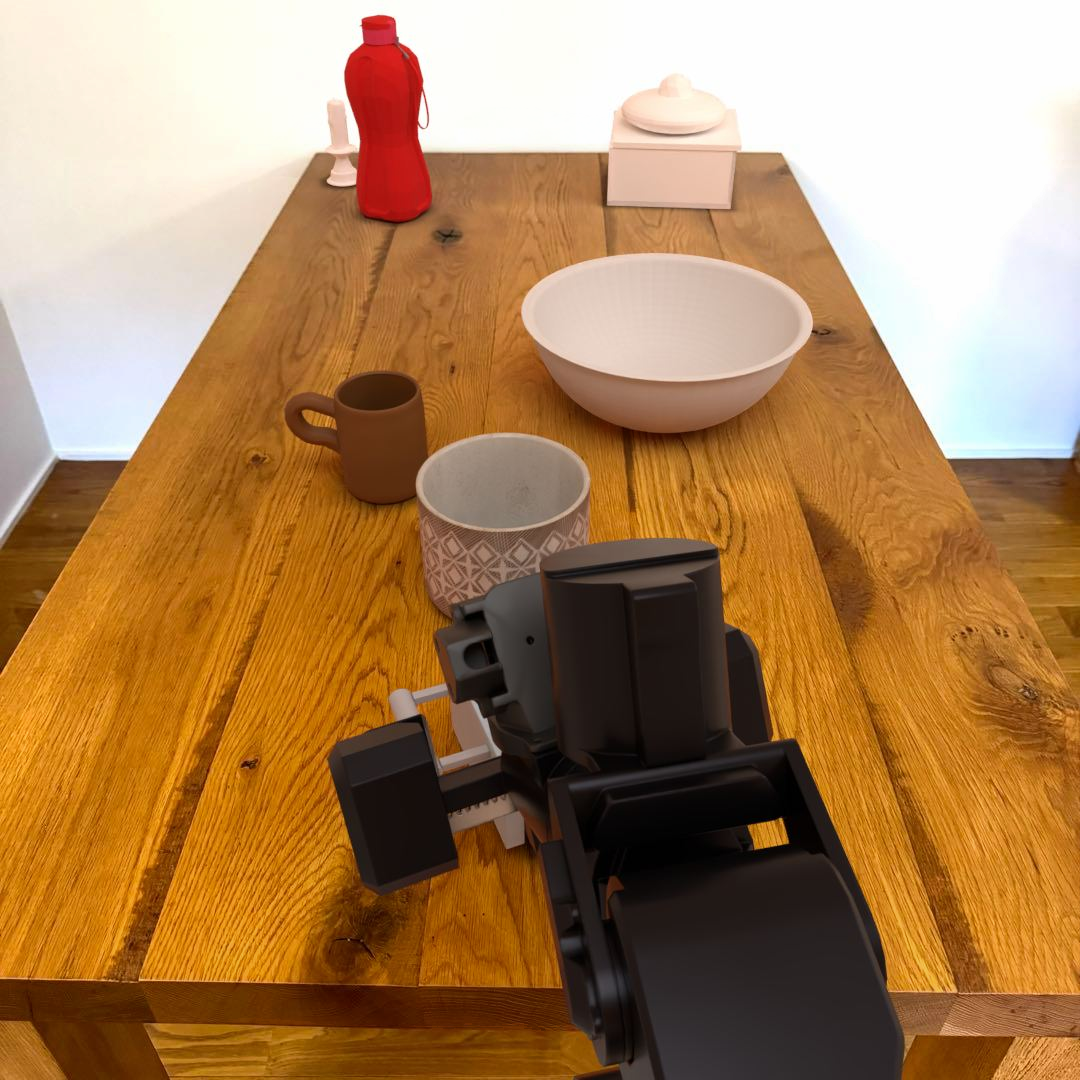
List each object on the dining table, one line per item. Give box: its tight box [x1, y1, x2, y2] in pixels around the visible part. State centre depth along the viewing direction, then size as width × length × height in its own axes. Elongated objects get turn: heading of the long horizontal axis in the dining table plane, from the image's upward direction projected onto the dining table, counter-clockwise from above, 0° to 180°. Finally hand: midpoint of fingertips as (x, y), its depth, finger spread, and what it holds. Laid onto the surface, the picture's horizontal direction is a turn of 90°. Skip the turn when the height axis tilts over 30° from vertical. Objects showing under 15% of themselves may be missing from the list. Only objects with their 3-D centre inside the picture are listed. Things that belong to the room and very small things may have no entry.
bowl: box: [520, 252, 814, 434], centre depth 101 cm, size 27×27×10 cm
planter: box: [416, 432, 591, 620], centre depth 79 cm, size 13×13×10 cm
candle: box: [324, 97, 358, 188], centre depth 153 cm, size 5×5×12 cm
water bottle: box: [343, 14, 433, 223], centre depth 138 cm, size 9×11×25 cm
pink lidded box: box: [606, 73, 742, 210], centre depth 149 cm, size 18×18×16 cm
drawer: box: [388, 682, 526, 850], centre depth 64 cm, size 17×10×7 cm, turn 112°
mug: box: [284, 369, 429, 505], centre depth 90 cm, size 12×8×9 cm, turn 90°
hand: (508, 695), depth 52 cm, fingers open, 9 cm apart
